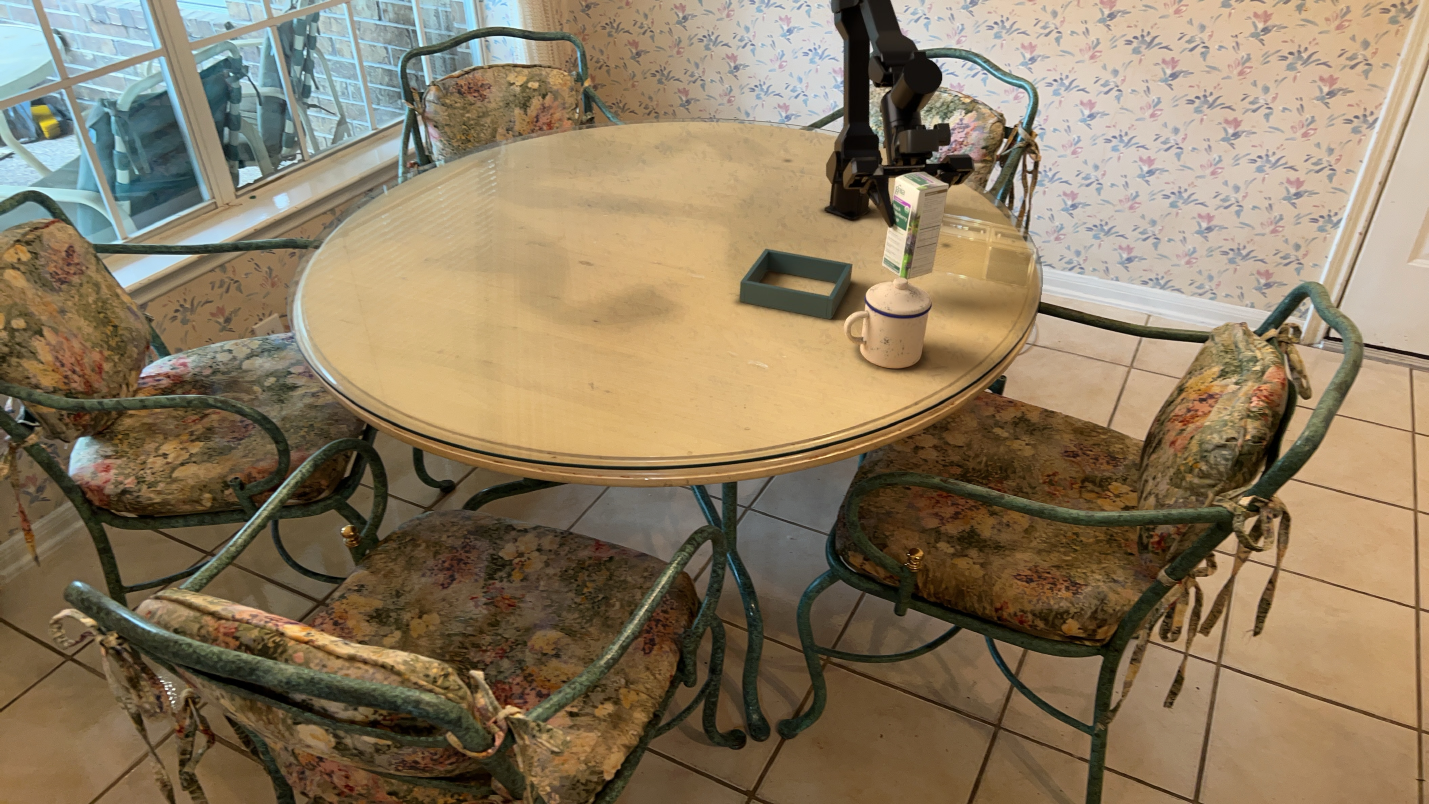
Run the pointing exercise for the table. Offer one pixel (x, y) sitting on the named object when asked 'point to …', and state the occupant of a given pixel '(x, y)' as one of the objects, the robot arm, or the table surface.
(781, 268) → the teal square frame
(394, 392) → the table surface
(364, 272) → the table surface
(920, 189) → the syrup box
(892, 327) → the teacup with lid
